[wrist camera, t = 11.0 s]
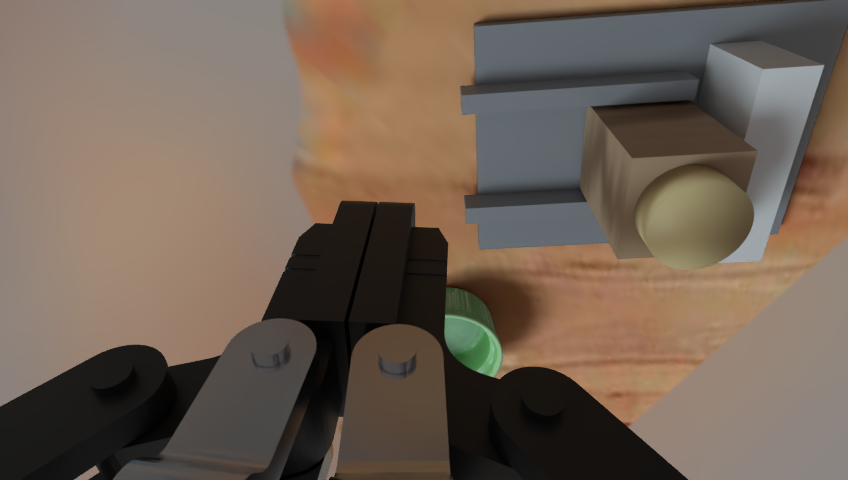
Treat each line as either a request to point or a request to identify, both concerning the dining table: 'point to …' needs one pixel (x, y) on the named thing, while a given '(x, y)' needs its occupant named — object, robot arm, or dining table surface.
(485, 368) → the ramekin
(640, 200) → the brown bottle-shaped block
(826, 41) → the mount
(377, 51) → the dining table surface
